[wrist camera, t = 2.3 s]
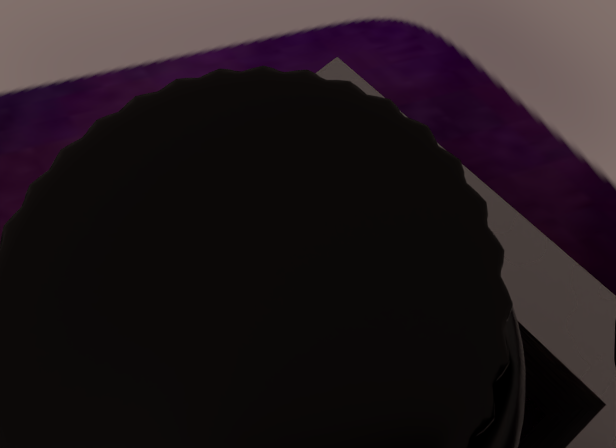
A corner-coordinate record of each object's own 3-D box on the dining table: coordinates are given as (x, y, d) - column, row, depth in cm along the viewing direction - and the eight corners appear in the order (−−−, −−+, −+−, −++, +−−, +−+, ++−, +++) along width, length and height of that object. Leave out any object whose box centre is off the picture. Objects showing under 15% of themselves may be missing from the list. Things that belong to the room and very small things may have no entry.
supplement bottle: (374, 248, 17) (400, -104, 6) (495, 459, 15) (904, 496, 4) (176, 346, 17) (-188, 147, 6) (266, 584, 14) (-79, 1086, 3)
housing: (655, 423, 15) (753, 414, 11) (301, 810, 12) (276, 964, 9) (341, 132, 19) (337, 57, 15) (35, 378, 17) (-57, 359, 13)
